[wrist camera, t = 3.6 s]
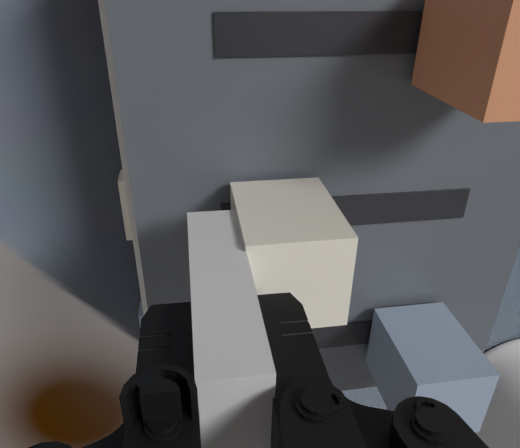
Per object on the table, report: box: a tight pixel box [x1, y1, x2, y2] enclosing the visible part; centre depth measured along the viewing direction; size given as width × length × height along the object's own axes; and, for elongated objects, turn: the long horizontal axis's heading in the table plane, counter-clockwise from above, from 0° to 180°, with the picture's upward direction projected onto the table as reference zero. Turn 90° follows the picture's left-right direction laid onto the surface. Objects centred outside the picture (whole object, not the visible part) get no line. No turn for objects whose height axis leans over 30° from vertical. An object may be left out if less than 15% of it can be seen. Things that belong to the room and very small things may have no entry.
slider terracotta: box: [411, 0, 520, 123], centre depth 12 cm, size 3×3×4 cm
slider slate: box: [366, 302, 500, 433], centre depth 18 cm, size 3×3×4 cm
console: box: [98, 0, 520, 391], centre depth 19 cm, size 19×16×5 cm
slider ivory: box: [230, 177, 358, 328], centre depth 15 cm, size 3×3×4 cm
